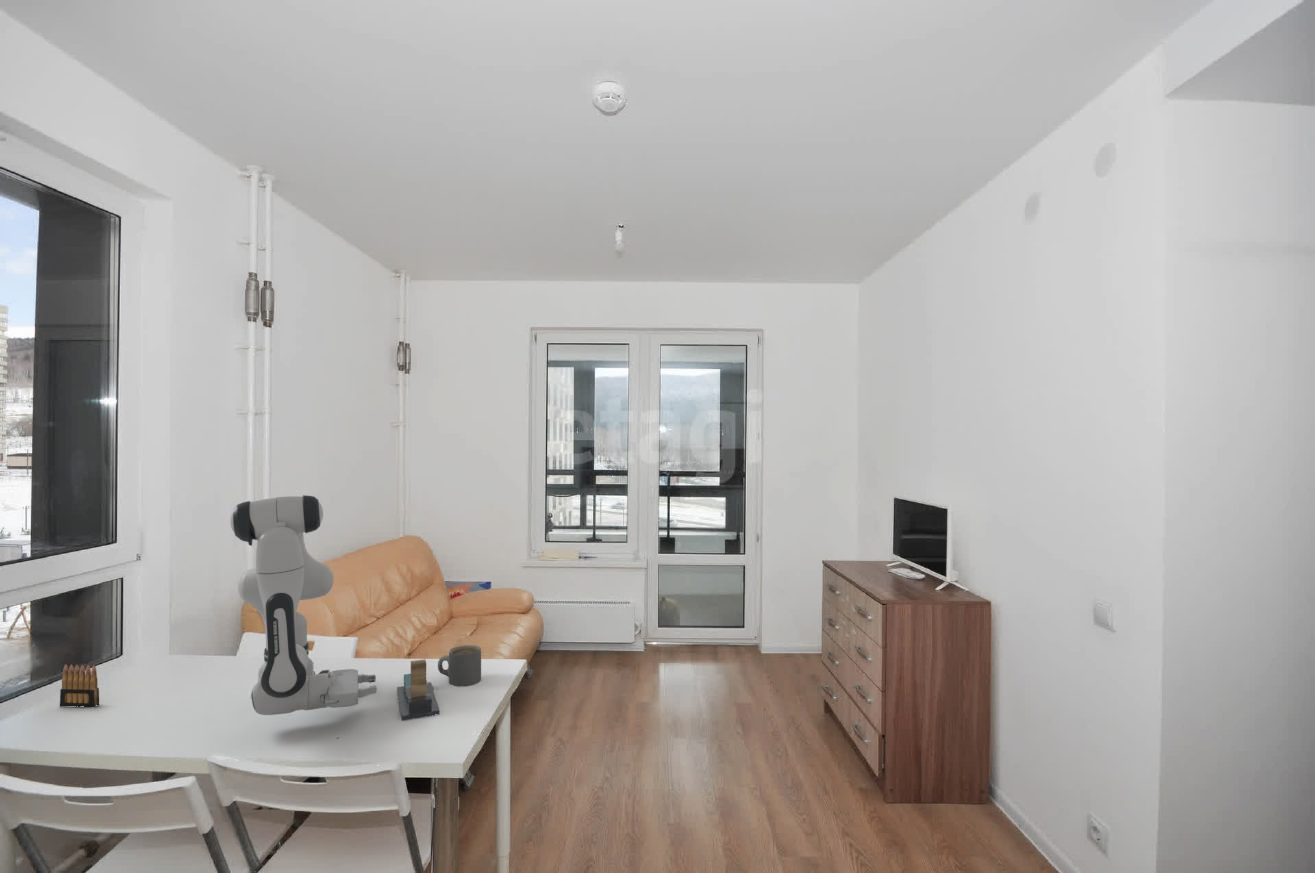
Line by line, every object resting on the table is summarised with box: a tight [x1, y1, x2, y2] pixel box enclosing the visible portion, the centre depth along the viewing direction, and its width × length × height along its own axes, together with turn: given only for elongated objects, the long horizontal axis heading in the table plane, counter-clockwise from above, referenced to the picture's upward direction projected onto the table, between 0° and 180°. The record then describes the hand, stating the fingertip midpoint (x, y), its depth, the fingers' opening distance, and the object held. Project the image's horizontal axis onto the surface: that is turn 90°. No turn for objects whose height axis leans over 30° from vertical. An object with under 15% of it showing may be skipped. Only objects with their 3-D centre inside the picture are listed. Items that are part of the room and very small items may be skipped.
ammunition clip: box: [59, 664, 100, 708], centre depth 193 cm, size 11×2×12 cm, turn 86°
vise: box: [396, 681, 441, 721], centre depth 196 cm, size 24×10×4 cm, turn 24°
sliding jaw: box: [403, 673, 428, 698], centre depth 202 cm, size 12×6×3 cm, turn 24°
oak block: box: [410, 658, 427, 697], centre depth 192 cm, size 4×4×12 cm
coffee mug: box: [437, 644, 482, 688], centre depth 213 cm, size 13×10×10 cm
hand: (376, 683), depth 187 cm, fingers open, 8 cm apart
